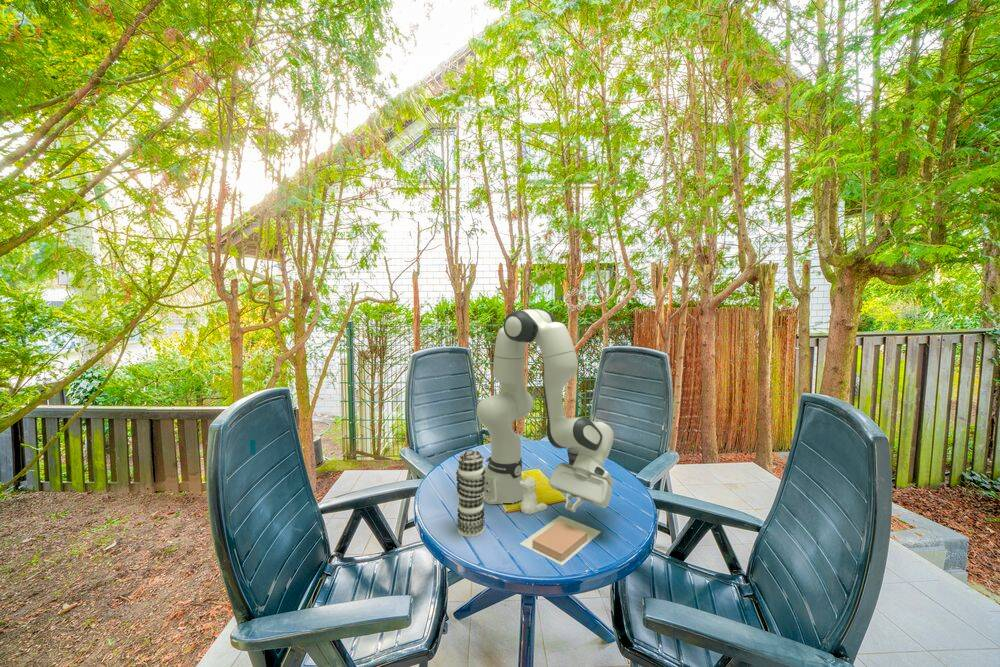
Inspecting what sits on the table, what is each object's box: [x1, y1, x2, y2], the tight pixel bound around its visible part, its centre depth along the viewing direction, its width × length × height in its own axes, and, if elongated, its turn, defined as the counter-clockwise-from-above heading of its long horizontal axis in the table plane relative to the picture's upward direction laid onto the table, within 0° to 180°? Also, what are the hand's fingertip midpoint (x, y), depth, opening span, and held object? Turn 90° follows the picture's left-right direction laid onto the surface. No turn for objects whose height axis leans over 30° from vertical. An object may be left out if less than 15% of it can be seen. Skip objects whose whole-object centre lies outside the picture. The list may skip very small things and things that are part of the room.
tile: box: [533, 521, 587, 561], centre depth 120 cm, size 10×2×14 cm
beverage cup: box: [566, 448, 579, 465], centre depth 166 cm, size 7×7×20 cm
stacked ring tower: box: [455, 449, 485, 538], centre depth 128 cm, size 9×9×25 cm
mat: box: [519, 515, 602, 566], centre depth 123 cm, size 15×22×1 cm
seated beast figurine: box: [519, 477, 548, 515], centre depth 140 cm, size 10×9×12 cm
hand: (569, 510), depth 124 cm, fingers closed
